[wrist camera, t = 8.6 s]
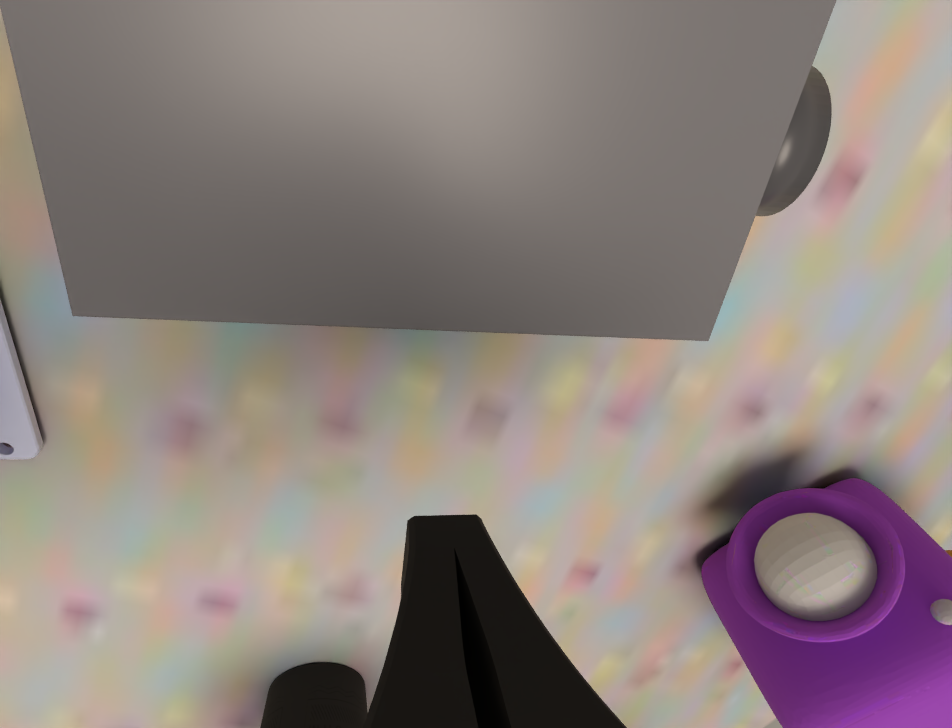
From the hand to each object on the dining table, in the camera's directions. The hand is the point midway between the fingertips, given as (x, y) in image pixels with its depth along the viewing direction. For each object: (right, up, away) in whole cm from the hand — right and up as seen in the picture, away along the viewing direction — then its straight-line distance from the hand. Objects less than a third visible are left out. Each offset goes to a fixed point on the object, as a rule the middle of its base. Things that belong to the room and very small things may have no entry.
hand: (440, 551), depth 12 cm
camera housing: (-1, +11, +5) cm, 13 cm away
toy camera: (+16, -5, +19) cm, 26 cm away
